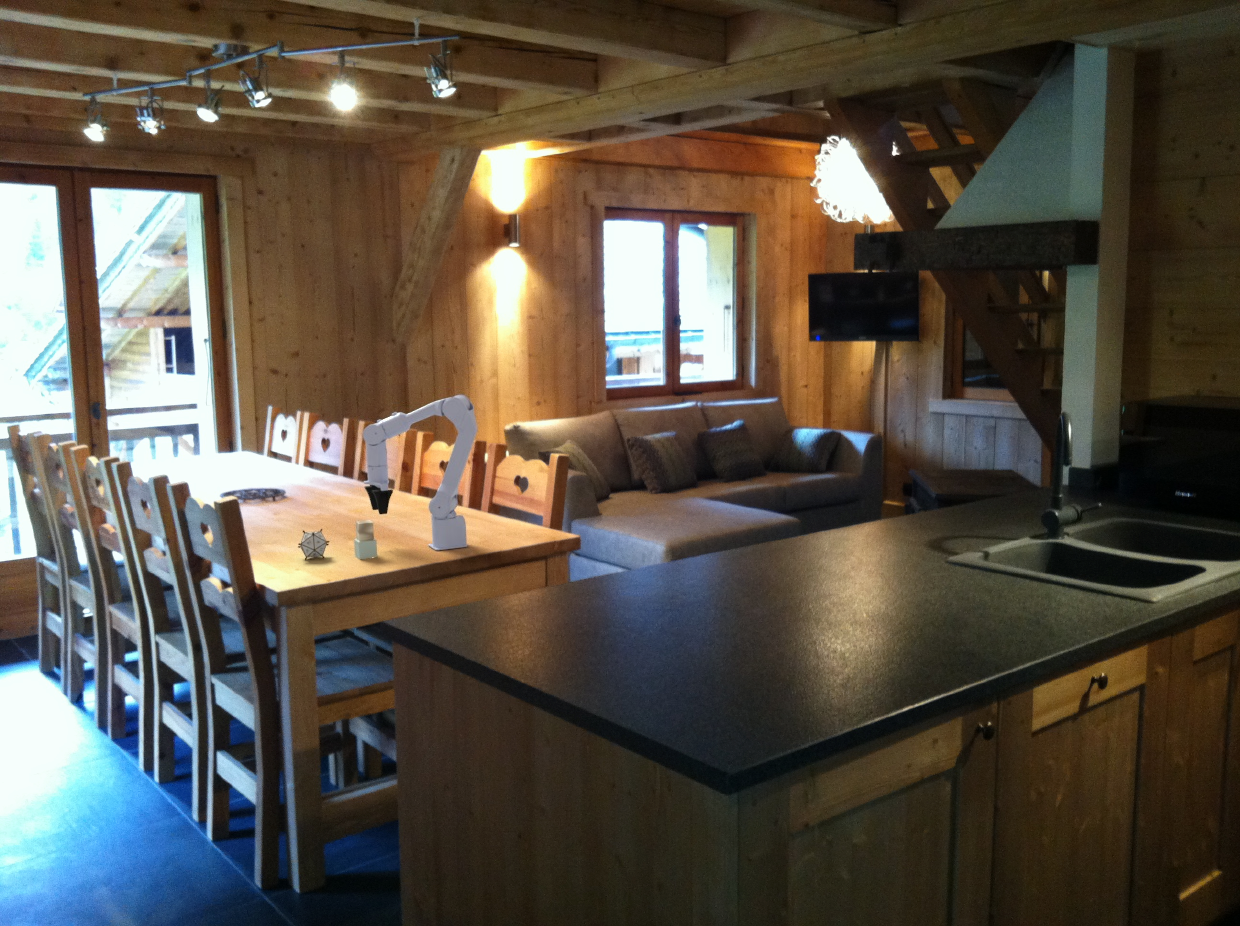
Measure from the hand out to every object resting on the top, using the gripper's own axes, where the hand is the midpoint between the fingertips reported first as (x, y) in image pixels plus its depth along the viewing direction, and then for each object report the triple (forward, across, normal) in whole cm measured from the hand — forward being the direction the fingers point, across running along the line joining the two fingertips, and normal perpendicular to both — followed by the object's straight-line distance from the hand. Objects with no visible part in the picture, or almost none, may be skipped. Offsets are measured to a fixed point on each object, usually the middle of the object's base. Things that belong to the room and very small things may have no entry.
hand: (379, 511), depth 314 cm
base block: (+10, +10, -7) cm, 16 cm away
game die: (+11, +4, -20) cm, 23 cm away
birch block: (+6, +10, -7) cm, 13 cm away
